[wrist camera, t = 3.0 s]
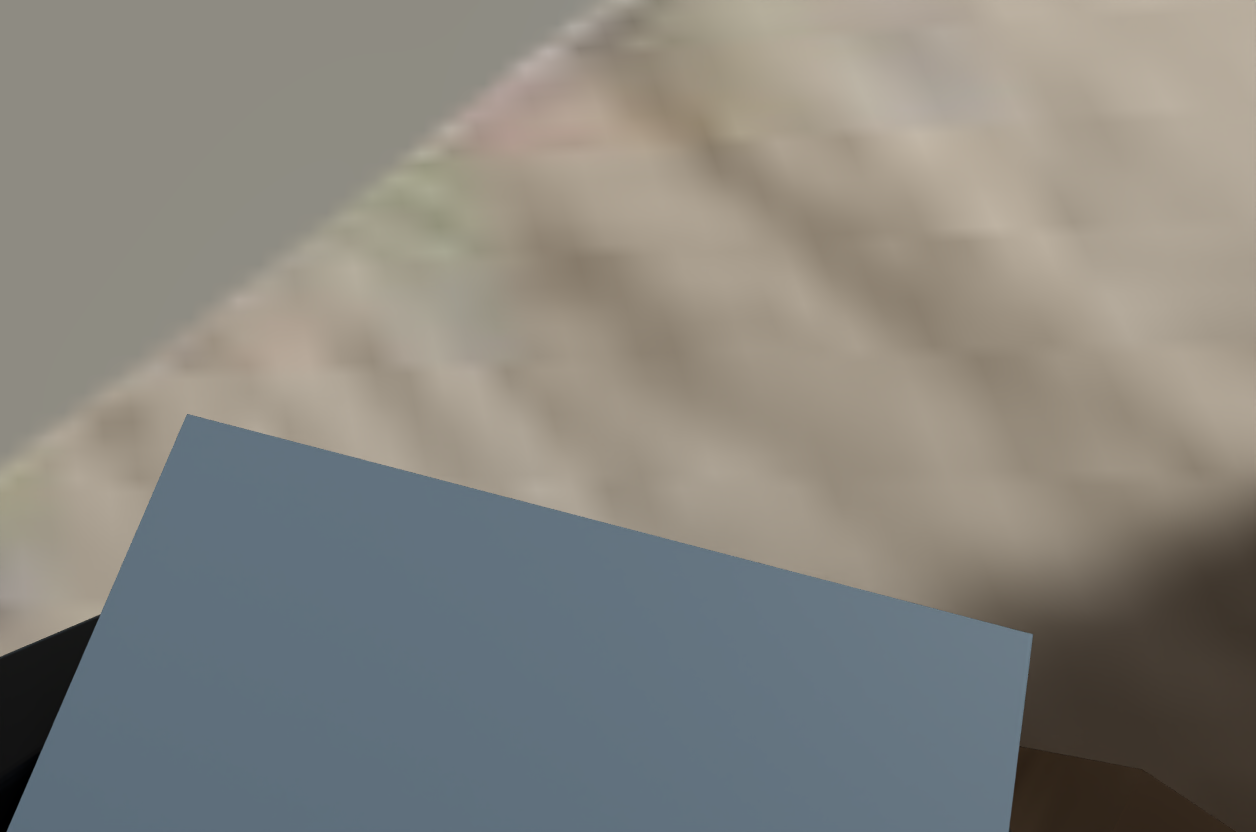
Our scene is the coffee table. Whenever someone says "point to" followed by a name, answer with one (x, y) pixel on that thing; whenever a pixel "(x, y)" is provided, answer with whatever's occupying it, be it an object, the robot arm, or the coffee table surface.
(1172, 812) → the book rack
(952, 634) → the rectangular block
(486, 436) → the coffee table surface
